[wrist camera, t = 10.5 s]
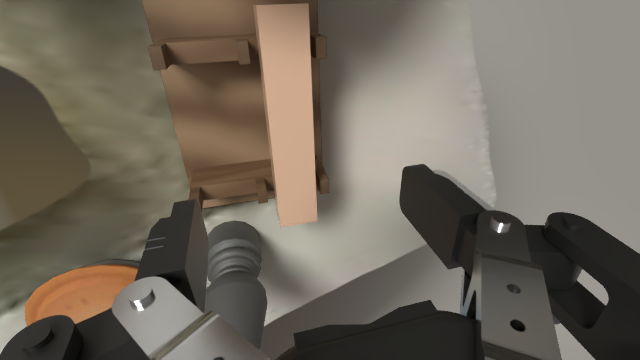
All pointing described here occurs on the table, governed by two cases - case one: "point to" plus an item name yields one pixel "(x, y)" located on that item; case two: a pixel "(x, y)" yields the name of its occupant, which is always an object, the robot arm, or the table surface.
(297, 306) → the table surface
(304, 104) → the strip
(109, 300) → the pie
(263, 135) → the rack
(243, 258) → the candle holder
